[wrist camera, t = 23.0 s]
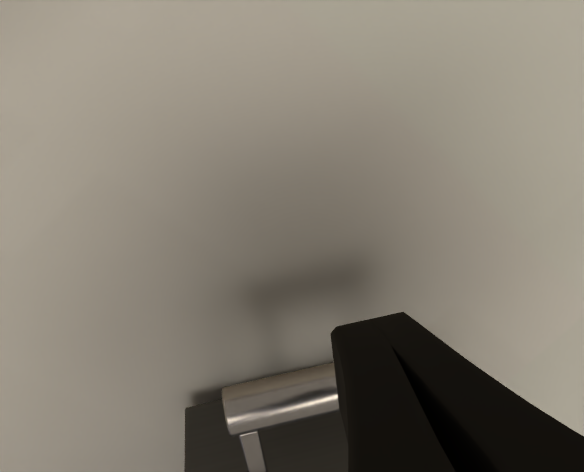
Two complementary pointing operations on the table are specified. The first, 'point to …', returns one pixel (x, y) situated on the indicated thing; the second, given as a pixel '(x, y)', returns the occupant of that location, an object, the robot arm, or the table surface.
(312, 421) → the drawer
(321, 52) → the table surface
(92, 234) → the table surface
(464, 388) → the robot arm
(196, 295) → the table surface
